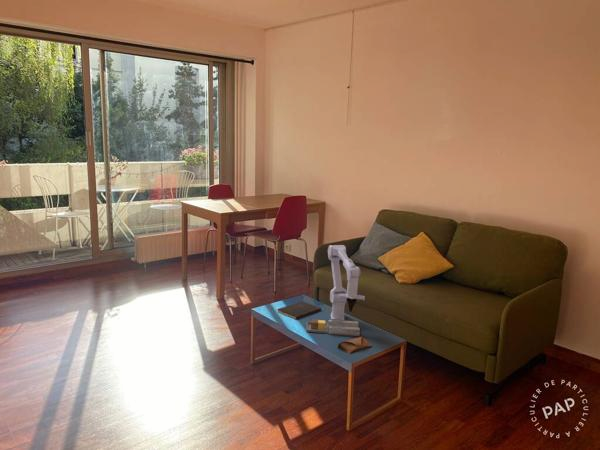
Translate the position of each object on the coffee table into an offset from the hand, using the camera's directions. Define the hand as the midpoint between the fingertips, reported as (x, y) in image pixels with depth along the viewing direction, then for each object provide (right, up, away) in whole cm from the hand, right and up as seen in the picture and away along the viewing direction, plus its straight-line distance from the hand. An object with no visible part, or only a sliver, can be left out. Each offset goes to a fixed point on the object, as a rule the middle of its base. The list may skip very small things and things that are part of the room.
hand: (350, 310), depth 267 cm
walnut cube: (-21, -9, -1) cm, 23 cm away
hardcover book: (-29, -5, +24) cm, 38 cm away
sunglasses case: (0, -16, -22) cm, 27 cm away
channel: (-4, -11, -2) cm, 12 cm away
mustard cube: (-17, -10, -2) cm, 19 cm away
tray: (-19, -10, -1) cm, 21 cm away
